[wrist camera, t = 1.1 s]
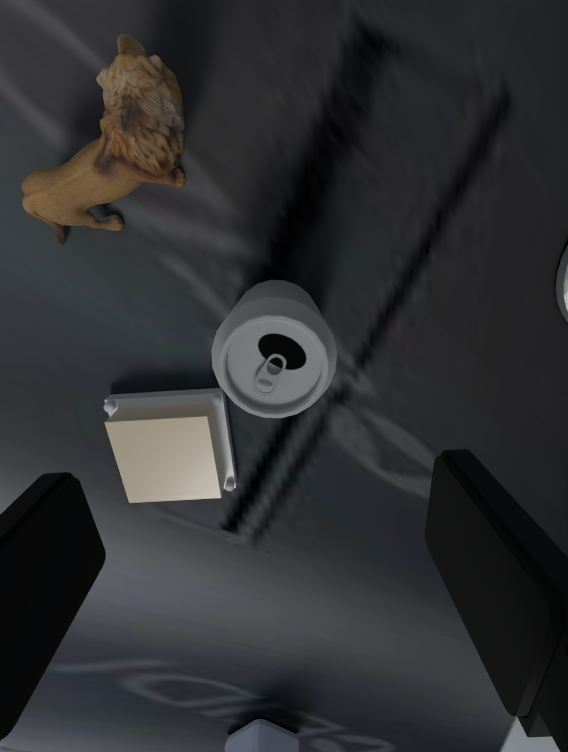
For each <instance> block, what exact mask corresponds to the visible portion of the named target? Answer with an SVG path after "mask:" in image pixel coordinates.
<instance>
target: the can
mask: <svg viewBox="0 0 568 752" xmlns="http://www.w3.org/2000/svg"><path fill="white" fill-rule="evenodd" d="M336 359H337V351H336V347H335V342H334V338H333V334H332V333H331V331H330V329H329V327H328V325H327V324H326V322H325V320H324V318H323V316H322V315H321V313H320V311H319V309H318V308H317V306H316V304H315V303H314V301H313V299H312V298H311V296H310V295H309V294H308V293H307V292H306V291H305V290H303V289H302V288H301V287H300V286H298V285H296V284H293V283H291V282H288V281H285V280H268V281H265V282H262V283H259V284H256V285H255V286H253V287H252V288H251V289H249V290H248V291H246V292H245V294H244V295H243V296H242V298H241V299H240V300H239V302H238V303H237V304H236V306H235V307H234V308H233V310H232V311H231V312H230V314H229V315H228V316H227V318H226V319H225V321H224V322H223V323H222V325H221V326H220V328H219V329H218V330H217V333H216V336H215V340H214V343H213V346H212V366H213V370H214V373H215V375H216V378H217V380H218V383H219V385H220V386H221V388H222V389H223V390H224V391H225V393H226V394H227V395H228V396H229V397H230V399H231V400H232V401H233V402H234V403H235V404H236V405H238V406H239V407H241V408H242V409H244V410H245V411H247V412H248V413H251V414H254V415H258V416H261V417H264V418H283V417H287V416H291V415H295V414H298V413H299V412H301V411H303V410H304V409H306V408H308V407H309V406H311V405H312V404H313V403H314V402H316V401H317V400H318V398H319V397H320V396H321V395H322V394H323V393H324V392H325V391H326V390H327V388H328V387H329V384H330V382H331V380H332V378H333V375H334V373H335V369H336Z"/></svg>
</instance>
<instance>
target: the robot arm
mask: <svg viewBox="0 0 568 752" xmlns="http://www.w3.org/2000/svg"><path fill="white" fill-rule="evenodd" d="M556 294H557V301H558V304H559V307H560V310H561V313H562V314H563V316H564V317H565V319H566V320H567V322H568V245H567V247H566V250H565V252H564V254H563V256H562V258H561V262H560V265H559V269H558V272H557V281H556ZM425 541H426V545H427V548H428V550H429V552H430V554H431V556H432V558H433V560H434V563H435V565H436V567H437V569H438V571H439V573H440V575H441V577H442V579H443V581H444V583H445V585H446V587H447V589H448V592H449V594H450V596H451V598H452V600H453V602H454V604H455V606H456V608H457V610H458V612H459V614H460V616H461V618H462V621H463V623H464V625H465V627H466V629H467V631H468V633H469V635H470V637H471V639H472V641H473V643H474V645H475V647H476V650H477V652H478V654H479V656H480V658H481V660H482V662H483V664H484V666H485V668H486V670H487V672H488V674H489V677H490V679H491V681H492V683H493V685H494V687H495V689H496V691H497V693H498V695H499V697H500V699H501V701H502V703H503V705H504V707H505V709H506V710H507V711H508V713H509V714H510V715H511V716H517V717H518V719H519V721H520V723H521V725H522V727H523V729H524V731H525V733H526V735H527V737H544V736H545V737H547V736H552V737H553V739H554V741H555V743H556V745H557V746H558V748H559V750H560V752H568V557H567V556H566V555H565V554H564V553H563V552H562V551H561V549H560V548H559V547H558V546H557V545H556V544H555V543H554V542H553V541H552V540H551V539H550V537H549V536H548V535H547V534H546V533H545V532H544V531H543V530H542V529H541V528H540V527H539V525H538V524H537V523H536V522H535V521H534V520H533V519H532V518H531V517H530V516H529V514H528V513H527V512H526V511H525V510H524V509H523V508H522V507H521V506H520V505H519V504H518V503H517V502H516V501H515V500H514V498H513V497H512V496H511V495H510V494H509V493H508V492H507V491H506V490H505V489H504V488H503V486H502V485H501V484H500V483H499V482H498V481H497V480H496V479H495V478H494V477H493V476H492V474H491V473H490V472H489V471H488V470H487V469H486V468H485V467H484V466H483V465H482V463H481V462H480V461H479V460H478V459H477V458H476V457H475V456H474V455H473V454H472V453H471V452H470V451H469V450H467V449H461V450H445V451H443V452H442V453H441V456H440V457H436V458H435V461H434V468H433V475H432V483H431V490H430V498H429V506H428V513H427V521H426V528H425ZM105 556H106V553H105V549H104V546H103V543H102V541H101V538H100V535H99V532H98V530H97V527H96V524H95V522H94V519H93V516H92V514H91V511H90V508H89V505H88V503H87V500H86V497H85V495H84V492H83V489H82V486H81V484H80V481H79V480H78V479H77V478H74V476H73V475H72V474H71V473H68V472H63V473H47V474H43V475H42V476H40V477H39V478H38V479H37V480H36V481H35V482H34V483H33V484H32V485H31V486H30V487H29V488H28V489H27V490H25V491H24V492H23V493H22V494H21V495H20V496H19V497H18V498H17V499H16V500H15V501H14V502H13V503H12V504H11V505H10V506H9V507H8V508H7V509H6V510H5V511H4V512H3V513H2V514H1V515H0V741H1V739H3V738H5V737H6V736H7V735H8V734H9V733H10V732H11V731H12V729H13V727H14V726H15V724H16V723H17V721H18V719H19V717H20V715H21V714H22V712H23V710H24V708H25V706H26V704H27V703H28V701H29V699H30V697H31V695H32V694H33V692H34V690H35V688H36V686H37V685H38V683H39V681H40V679H41V677H42V676H43V674H44V672H45V670H46V668H47V666H48V665H49V663H50V661H51V659H52V657H53V656H54V654H55V652H56V650H57V648H58V647H59V645H60V643H61V641H62V639H63V637H64V636H65V634H66V632H67V630H68V628H69V627H70V625H71V623H72V621H73V619H74V618H75V616H76V614H77V612H78V610H79V609H80V607H81V605H82V603H83V601H84V599H85V598H86V596H87V594H88V592H89V590H90V589H91V587H92V585H93V583H94V581H95V580H96V578H97V576H98V574H99V572H100V570H101V569H102V567H103V565H104V562H105Z"/></svg>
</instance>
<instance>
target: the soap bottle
mask: <svg viewBox="0 0 568 752" xmlns="http://www.w3.org/2000/svg"><path fill="white" fill-rule="evenodd" d="M225 752H299V741H298V737H297V736H296V735H295V733H293V732H291V731H288V730H286V729H284V728H282V727H280V726H278V725H275V724H273V723H271V722H269V721H267V720H265V719H256V720H254V721H252V722H251V723H249V724H248V725H246V726H244V727H243V728H241V729H240V730H238V731H236V732H235V733H233V734H231V735H230V736H229V737H228V739H227V741H226V744H225Z"/></svg>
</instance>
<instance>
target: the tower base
mask: <svg viewBox="0 0 568 752" xmlns="http://www.w3.org/2000/svg"><path fill="white" fill-rule="evenodd" d="M105 403H106V404H105V405H104V409H105V411H107V412H108V413H109V418H108V419H107V420H106V421H105V426H106V429H107V432H108V435H109V438H110V442H111V445H112V448H113V451H114V455H115V458H116V461H117V464H118V468H119V471H120V474H121V477H122V481H123V484H124V487H125V490H126V494H127V497H128V500H129V503H136V502H154V501H173V500H191V499H209V498H221V497H222V492H223V488H225V489H226V490H227V491H232V490H233V489H234V488H236V485H237V473H236V466H235V460H234V453H233V446H232V439H231V432H230V425H229V418H228V411H227V404H226V397H225V391H224V390H223V389H222V388H210V389H194V390H177V391H161V392H144V393H128V394H112V395H110V396H109V397H107V398H106V399H105Z"/></svg>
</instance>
